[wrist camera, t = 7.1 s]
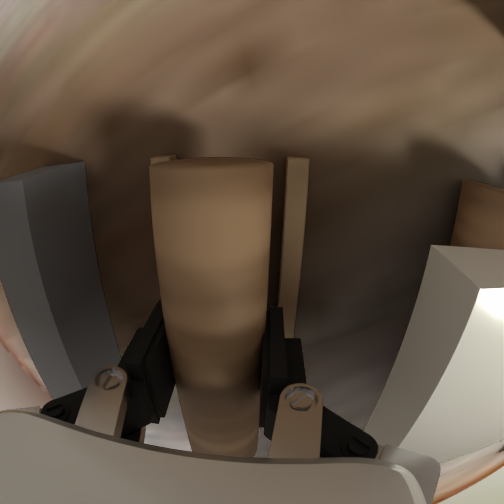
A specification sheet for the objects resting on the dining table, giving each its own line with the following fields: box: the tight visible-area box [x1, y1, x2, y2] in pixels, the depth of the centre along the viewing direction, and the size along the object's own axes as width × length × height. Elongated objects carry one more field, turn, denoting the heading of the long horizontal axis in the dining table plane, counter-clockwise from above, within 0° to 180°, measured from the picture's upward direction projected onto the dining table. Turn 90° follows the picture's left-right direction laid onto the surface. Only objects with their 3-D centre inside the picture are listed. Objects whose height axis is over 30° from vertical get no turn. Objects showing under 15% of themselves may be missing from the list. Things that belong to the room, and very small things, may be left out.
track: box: [151, 155, 504, 338], centre depth 13 cm, size 14×23×4 cm, turn 89°
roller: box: [149, 157, 273, 457], centre depth 11 cm, size 14×4×4 cm, turn 179°
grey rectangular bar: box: [0, 161, 121, 400], centre depth 13 cm, size 14×3×4 cm, turn 179°
